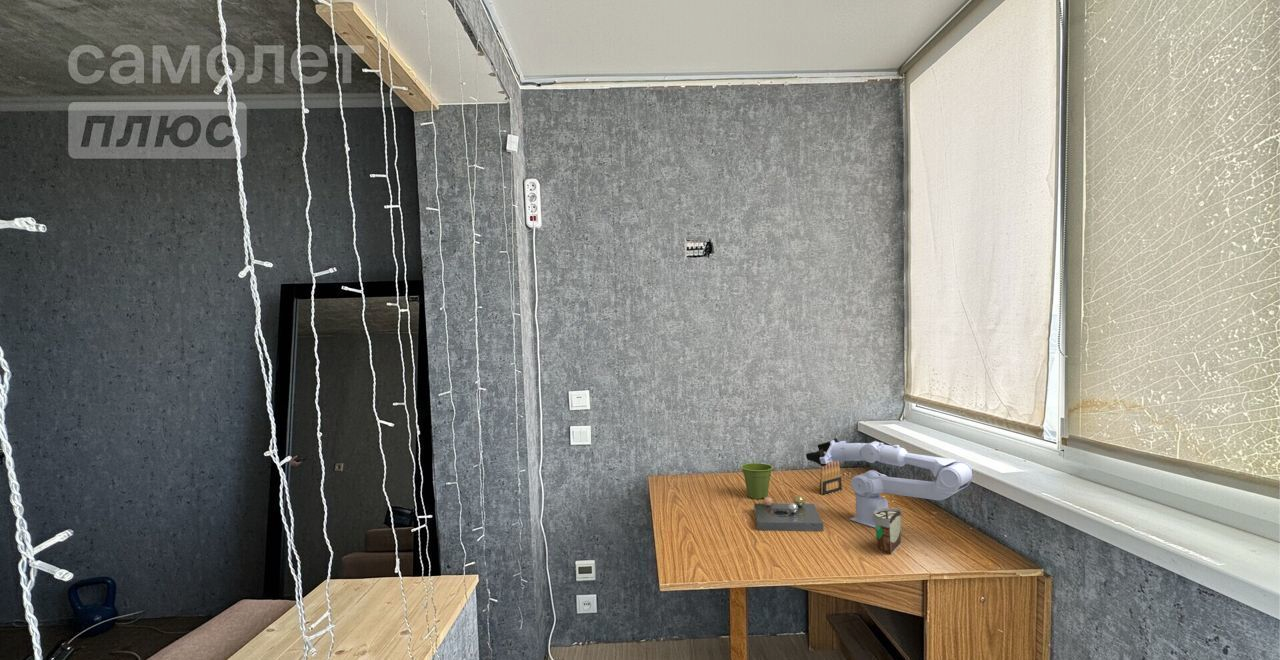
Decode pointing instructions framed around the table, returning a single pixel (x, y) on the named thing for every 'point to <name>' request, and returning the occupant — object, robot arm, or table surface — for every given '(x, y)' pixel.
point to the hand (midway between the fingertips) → (812, 452)
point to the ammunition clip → (830, 478)
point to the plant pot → (757, 479)
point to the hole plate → (787, 518)
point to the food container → (888, 529)
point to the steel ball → (792, 507)
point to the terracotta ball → (767, 501)
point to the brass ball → (799, 500)
